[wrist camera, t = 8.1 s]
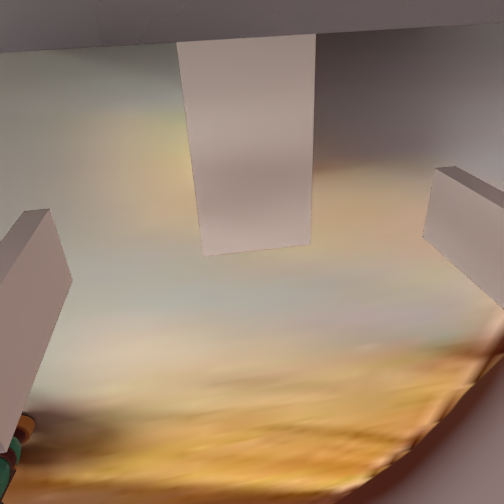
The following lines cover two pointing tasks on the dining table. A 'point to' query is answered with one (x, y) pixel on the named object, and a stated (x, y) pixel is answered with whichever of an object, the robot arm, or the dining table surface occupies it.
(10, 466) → the binoculars
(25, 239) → the robot arm
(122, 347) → the dining table surface
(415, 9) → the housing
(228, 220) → the grey rectangular block
